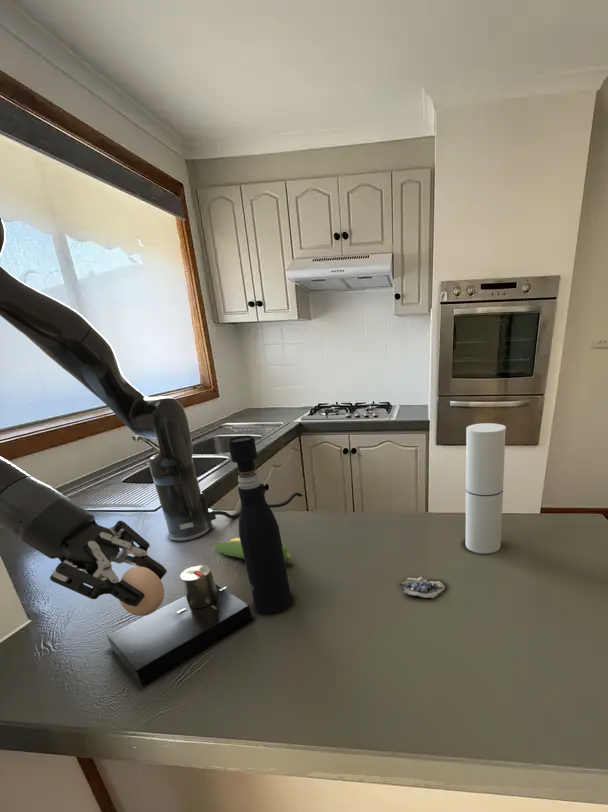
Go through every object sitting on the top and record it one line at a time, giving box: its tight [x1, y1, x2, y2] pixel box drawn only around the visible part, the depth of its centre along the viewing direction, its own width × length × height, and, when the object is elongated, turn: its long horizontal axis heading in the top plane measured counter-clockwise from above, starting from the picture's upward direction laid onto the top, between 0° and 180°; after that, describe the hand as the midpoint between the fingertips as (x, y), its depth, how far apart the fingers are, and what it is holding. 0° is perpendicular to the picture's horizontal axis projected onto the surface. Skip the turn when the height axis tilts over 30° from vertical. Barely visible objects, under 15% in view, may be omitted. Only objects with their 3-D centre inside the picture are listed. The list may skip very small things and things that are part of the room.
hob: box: [106, 582, 253, 687], centre depth 69 cm, size 18×12×3 cm
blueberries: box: [400, 576, 446, 599], centre depth 75 cm, size 7×8×2 cm
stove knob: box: [179, 564, 218, 608], centre depth 71 cm, size 5×5×6 cm
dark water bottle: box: [227, 435, 292, 615], centre depth 69 cm, size 6×6×30 cm
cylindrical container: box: [464, 422, 507, 554], centre depth 84 cm, size 7×7×25 cm
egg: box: [119, 566, 165, 617], centre depth 61 cm, size 6×6×8 cm
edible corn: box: [213, 537, 292, 563], centre depth 90 cm, size 5×20×5 cm, turn 64°
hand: (152, 587), depth 61 cm, fingers closed on egg, 5 cm apart
